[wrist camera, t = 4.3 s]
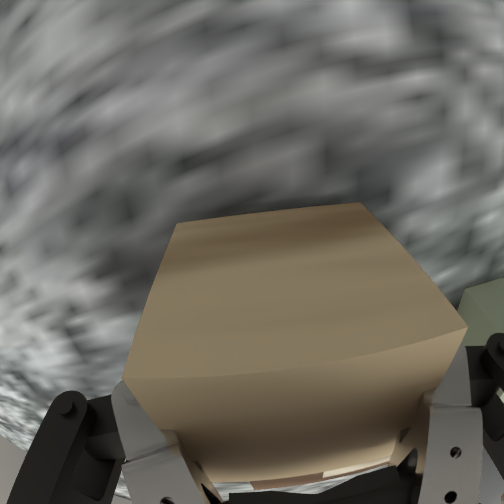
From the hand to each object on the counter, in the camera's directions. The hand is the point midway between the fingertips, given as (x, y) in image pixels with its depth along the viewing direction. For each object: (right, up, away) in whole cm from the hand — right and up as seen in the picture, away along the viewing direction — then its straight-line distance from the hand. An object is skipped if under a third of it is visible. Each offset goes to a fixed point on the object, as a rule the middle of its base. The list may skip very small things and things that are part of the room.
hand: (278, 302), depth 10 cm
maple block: (0, 0, +1) cm, 1 cm away
